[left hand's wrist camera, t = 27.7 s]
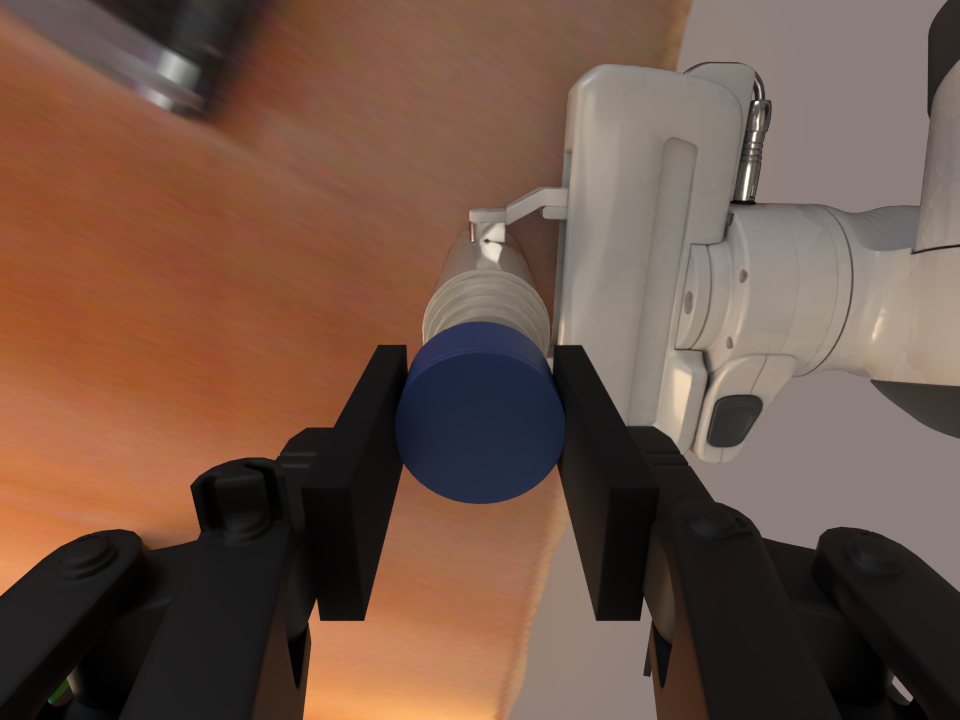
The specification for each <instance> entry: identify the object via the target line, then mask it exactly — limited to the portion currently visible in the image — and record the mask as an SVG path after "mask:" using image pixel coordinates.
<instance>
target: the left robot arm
mask: <svg viewBox="0 0 960 720" xmlns="http://www.w3.org/2000/svg"><path fill="white" fill-rule="evenodd" d="M407 375H408V367H407V349H406V345H378V347H377V349H376V350H375V352H374V354H373V356H372V358H371V360H370V361H369V363H368V365H367V367H366V369H365V371H364V372H363V374H362V376H361V378H360V380H359V382H358V383H357V385H356V387H355V389H354V391H353V393H352V394H351V396H350V398H349V400H348V402H347V404H346V406H345V407H344V409H343V411H342V413H341V415H340V417H339V418H338V420H337V422H336V424H335V426H334V428H306V429H304V430H303V431H301V432H300V433H298V434H297V435H295V436H294V437H293V438H291V439H290V440H289V441H288V443H287V444H286V446H285V447H284V448H283V450H282V451H281V453H280V456H278V457H277V459H276V460H271V459H267V458H243V459H237V460H232V461H228V462H226V463H223V464H220V465H218V466H215V467H213V468H211V469H209V470H208V471H206V472H205V473H203V474H202V475H200V476H199V477H198V478H197V479H196V480H195V481H194V482H193V483H192V485H191V486H190V487H191V492H192V496H193V500H194V504H195V508H196V512H197V516H198V521H199V525H200V529H201V533H200V535H199V538H198V540H195V541H192V542H188V543H185V544H180V545H176V546H171V547H166V548H161V549H157V550H152V551H147V552H145V549H144V546H143V543H142V539H141V538H140V537H139V536H138V535H137V534H136V533H135V532H133V531H127V530H122V529H116V530H106V531H100V532H95V533H92V534H88V535H85V536H82V537H79V538H77V539H75V540H73V541H71V542H69V543H67V544H65V545H63V546H61V547H59V548H58V549H56V550H55V551H54V552H52V553H51V554H49V555H48V556H46V557H45V558H44V559H42V560H41V561H40V562H39V563H38V564H37V565H36V566H34V567H33V568H32V569H31V570H30V571H29V572H28V573H26V574H25V575H24V576H23V577H22V578H21V579H20V580H18V581H17V582H16V583H15V584H14V585H13V586H12V587H10V588H9V589H8V590H7V591H6V592H5V593H4V594H2V595H1V596H0V720H303V713H304V704H305V695H306V686H307V677H308V668H309V659H310V650H311V637H310V630H309V623H308V620H309V617H310V615H311V612H312V609H313V607H314V604H315V601H316V598H317V602H318V608H319V615H320V621H364V619H365V615H366V611H367V607H368V603H369V599H370V595H371V591H372V587H373V583H374V579H375V575H376V571H377V567H378V563H379V559H380V555H381V551H382V547H383V543H384V539H385V535H386V531H387V527H388V523H389V519H390V515H391V511H392V507H393V503H394V499H395V495H396V491H397V487H398V483H399V480H400V476H401V472H402V468H403V464H404V462H403V461H402V459H401V457H400V455H399V452H398V450H397V444H396V430H395V412H396V408H397V405H398V402H399V399H400V396H401V393H402V390H403V387H404V384H405V381H406V378H407ZM552 375H553V378H554V381H555V384H556V387H557V390H558V393H559V396H560V399H561V402H562V405H563V408H564V412H565V436H564V447H563V450H562V453H561V455H560V457H559V459H558V461H557V466H558V470H559V474H560V478H561V482H562V486H563V490H564V494H565V498H566V502H567V506H568V510H569V514H570V518H571V522H572V526H573V530H574V534H575V538H576V542H577V546H578V550H579V554H580V558H581V562H582V566H583V570H584V574H585V578H586V582H587V586H588V590H589V594H590V598H591V602H592V606H593V610H594V614H595V618H596V621H640V617H641V611H642V604H643V597H644V598H645V600H646V603H647V605H648V608H649V611H650V613H651V616H652V624H651V630H650V636H649V642H648V648H647V655H646V661H645V667H644V676H649V677H650V676H651V670H652V676H653V685H654V694H655V702H656V711H657V720H960V592H959V591H957V590H956V589H955V588H954V587H953V586H952V585H951V584H949V583H948V582H947V581H946V580H945V579H944V578H942V577H941V576H940V575H939V574H938V573H937V572H936V571H934V570H933V569H932V568H931V567H930V566H929V565H928V564H926V563H925V562H924V561H923V560H922V559H921V558H919V557H918V556H917V555H915V554H914V553H913V552H911V551H910V550H908V549H907V548H905V547H904V546H903V545H901V544H899V543H897V542H895V541H893V540H891V539H888V538H886V537H885V536H883V535H881V534H878V533H875V532H870V531H868V530H863V529H858V528H848V527H838V528H832V529H828V530H826V531H825V532H824V533H823V534H822V535H821V536H820V537H819V541H818V544H817V548H816V550H814V549H810V548H805V547H800V546H795V545H791V544H786V543H781V542H777V541H773V540H769V539H766V538H762V537H761V534H760V532H759V530H758V529H757V528H756V526H755V525H754V524H753V522H752V521H751V520H750V519H749V518H747V517H746V516H745V515H743V514H742V513H741V512H739V511H738V510H736V509H733V508H731V507H729V506H726V505H724V504H722V503H717V502H715V501H714V500H713V498H712V497H711V496H710V494H709V493H708V491H707V490H706V488H705V487H704V485H703V484H702V482H701V481H700V479H699V478H698V477H697V475H696V474H695V472H694V471H693V469H692V468H691V466H688V462H687V460H686V459H685V457H684V456H683V455H682V454H681V453H680V450H679V449H678V447H677V446H676V444H675V443H674V441H673V440H672V438H671V437H669V436H668V435H666V434H665V433H663V432H662V431H660V430H659V429H657V428H656V427H654V426H626V425H625V423H624V421H623V420H622V418H621V416H620V414H619V412H618V410H617V409H616V407H615V405H614V403H613V401H612V399H611V397H610V396H609V394H608V392H607V390H606V388H605V386H604V385H603V383H602V381H601V379H600V377H599V375H598V374H597V372H596V370H595V368H594V366H593V364H592V363H591V361H590V359H589V357H588V355H587V353H586V352H585V350H584V348H583V346H582V345H554V356H553V374H552ZM894 676H896V677H897V678H898V680H899V681H900V682H901V683H902V684H903V685H904V687H905V688H906V689H907V690H908V691H909V693H910V694H911V695H912V696H913V700H912V701H911V702H909V701H908V700H907V699H906V698H905V697H904V696H903V695H902V694H900V692H899V691H898V690H897V689H896V688H895V686H894V685H893V684H892V681H893V678H894ZM66 678H67V680H68V682H69V684H70V685H69V686H68V687H67V689H66V690H65V691H64V692H63V693H62V695H61V696H60V697H59V698H57V699H56V700H55V701H54V702H53V703H52V704H51V703H49V701H48V700H49V698H50V697H51V696H52V695H53V694H54V692H55V691H56V690H57V689H58V688H59V686H60V685H61V684H62V683H63V682H64V680H65V679H66Z"/></svg>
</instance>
